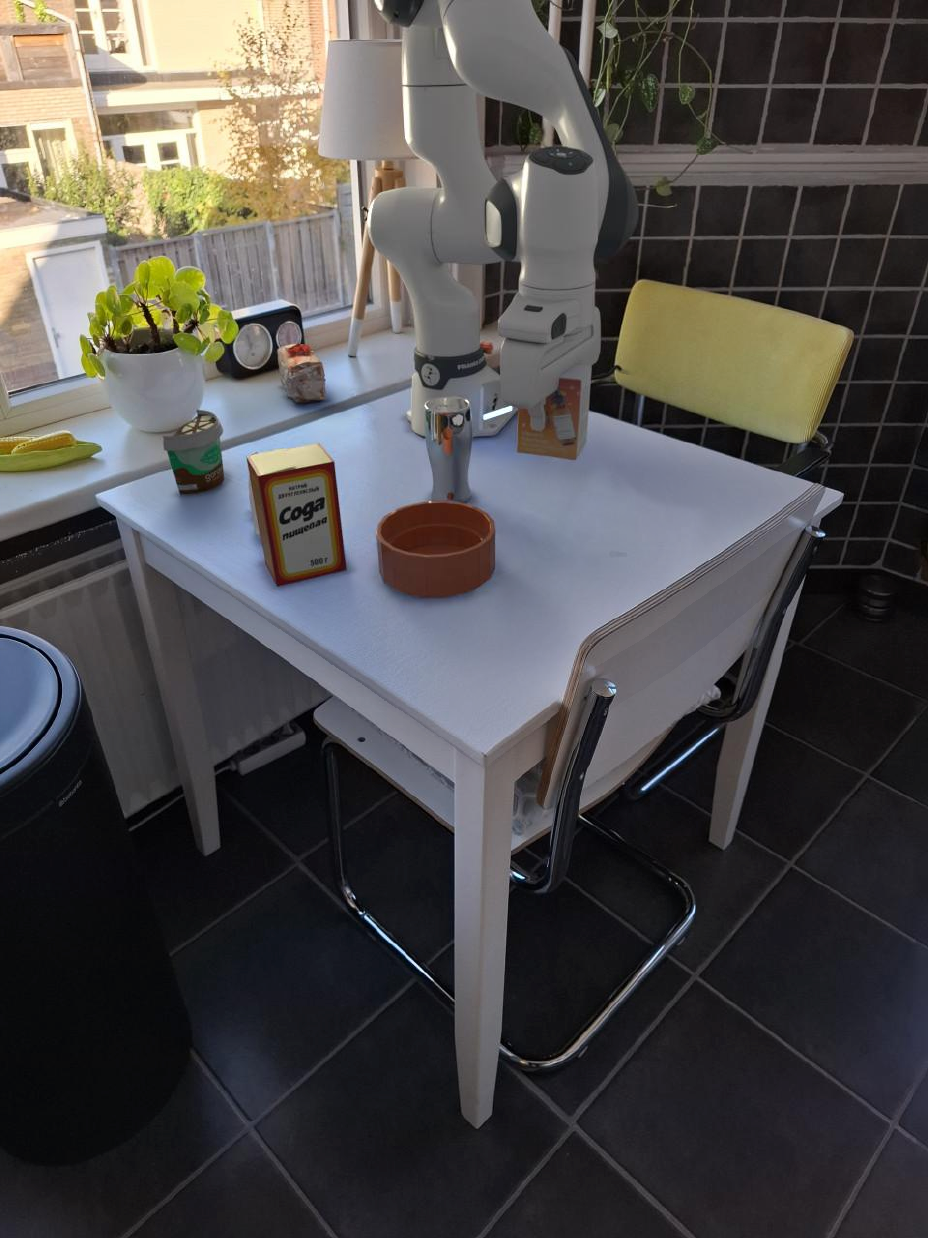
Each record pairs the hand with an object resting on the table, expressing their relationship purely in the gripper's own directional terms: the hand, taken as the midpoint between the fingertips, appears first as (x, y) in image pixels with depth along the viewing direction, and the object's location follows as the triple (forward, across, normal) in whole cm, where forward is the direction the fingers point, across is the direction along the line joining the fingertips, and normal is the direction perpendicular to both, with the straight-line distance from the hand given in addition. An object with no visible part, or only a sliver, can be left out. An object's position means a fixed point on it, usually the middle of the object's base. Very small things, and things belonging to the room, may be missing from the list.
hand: (552, 418), depth 110 cm
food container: (+19, +8, -57) cm, 60 cm away
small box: (+4, 0, 0) cm, 4 cm away
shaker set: (+19, +15, -38) cm, 45 cm away
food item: (+19, -31, -70) cm, 79 cm away
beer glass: (+19, -6, -20) cm, 28 cm away
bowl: (+18, +13, -10) cm, 25 cm away
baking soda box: (+18, +21, -26) cm, 38 cm away
